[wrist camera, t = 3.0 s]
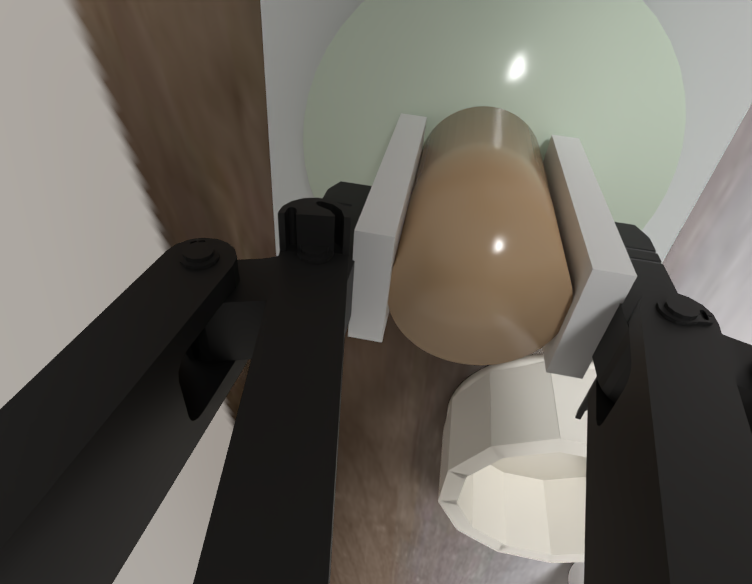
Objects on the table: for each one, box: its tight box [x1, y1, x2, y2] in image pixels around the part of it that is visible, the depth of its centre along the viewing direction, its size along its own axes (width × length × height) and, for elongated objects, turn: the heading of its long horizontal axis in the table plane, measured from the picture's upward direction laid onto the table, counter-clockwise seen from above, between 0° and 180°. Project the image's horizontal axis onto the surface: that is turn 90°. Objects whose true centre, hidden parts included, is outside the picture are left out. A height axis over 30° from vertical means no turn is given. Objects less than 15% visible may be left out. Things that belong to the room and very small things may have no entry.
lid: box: [303, 0, 686, 365], centre depth 12 cm, size 11×11×8 cm
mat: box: [260, 0, 752, 264], centre depth 16 cm, size 14×14×1 cm
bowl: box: [438, 354, 597, 563], centre depth 22 cm, size 9×9×4 cm
